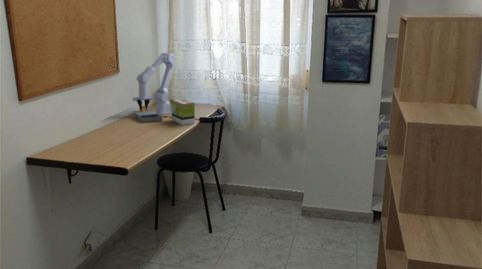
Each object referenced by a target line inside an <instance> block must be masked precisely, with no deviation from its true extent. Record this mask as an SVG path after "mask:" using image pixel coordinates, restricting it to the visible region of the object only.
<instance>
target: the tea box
mask: <svg viewBox="0 0 482 269" xmlns="http://www.w3.org/2000/svg"><path fill="white" fill-rule="evenodd" d="M171 121H173V122H175V123H178V124H180V125H182V126H186V125H185V124H187V125H192V123H193V124H195V102H193V101H191V100H188V99H186V98H179V99H178V98H177V99H171Z"/></svg>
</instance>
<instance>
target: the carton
mask: <svg viewBox="0 0 482 269" xmlns="http://www.w3.org/2000/svg"><path fill="white" fill-rule="evenodd" d="M136 120H138V121H139V122H140V123H141V124H146V123H148V124H149V123H157V122H163V116H162V115H161V114H159V115H158V114H156V115H144V116H138V115H136Z"/></svg>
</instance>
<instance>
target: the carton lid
mask: <svg viewBox="0 0 482 269" xmlns="http://www.w3.org/2000/svg"><path fill="white" fill-rule="evenodd" d="M133 113H134V114H135V115H136V116H137V115H138V116H144V115H156V114H158V113H156V111H155V110H153V109H151V110H150V109H147V110H146V106H145V105H142V111H141V110H138V111H137V110H136V111H133Z"/></svg>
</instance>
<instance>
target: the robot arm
mask: <svg viewBox="0 0 482 269" xmlns="http://www.w3.org/2000/svg"><path fill="white" fill-rule="evenodd" d="M175 62H176V56H175V54H174V53H168V52H162V53H161V54H160V55H159V56H158V58H157V59H156V60H155V61H154V63H153V64H152V65H150V66H147V67H146V68H145V70H143V71H142V72H141V73H139V74H138V75H137V77H136V81H137V83H138V96H137V97H132V101H133V102H136V103H137V105H138V107H139V111H142V106H143V103H144V106H146V111H147V110H148V106H149V104H150V102H151V100H153V101H154V99H155V102H156V105H155V108H156V111H155V112H156V113H158V115H169V114H171V104H170V103H171V102H170V101H169V93H170V92H169V90H168V88H169V85H170V83H171V79H172V77H173V73H174V69H175V67H176V66H175V64H176V63H175ZM162 64H164V65H165V70H164V74H163V77H162V80H161V82H160V83H161V84H160V86H159V88H157V89H156V91H155V92H154V95H153V96H148V82H149V80H150V78H151V77H152V76H153V75H154V73H155V70H156V69H157V68H159V67H160V66H161V65H162ZM143 101H144V102H143Z"/></svg>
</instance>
